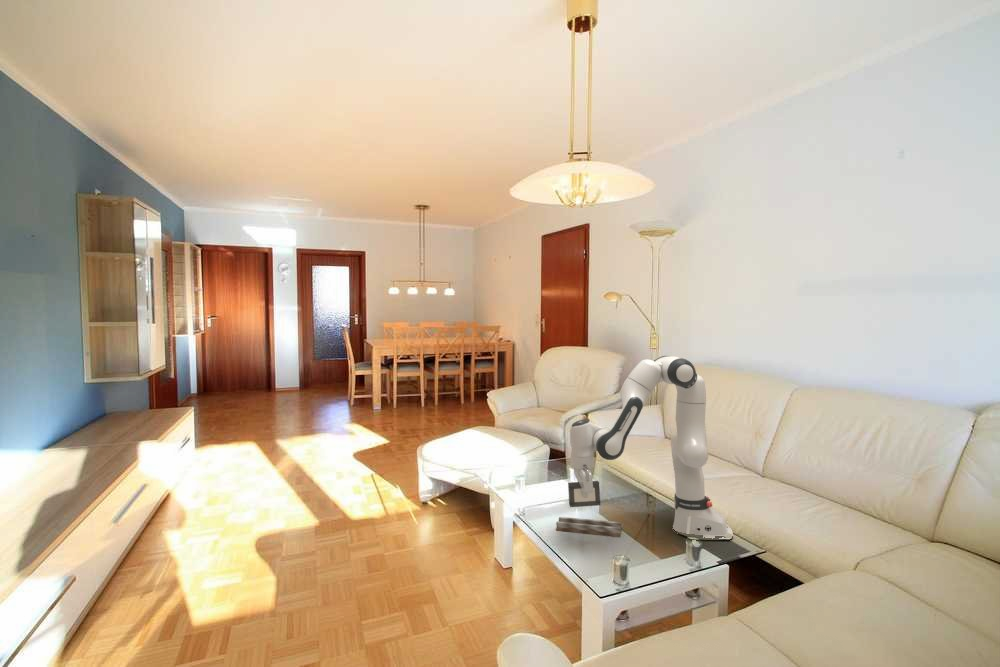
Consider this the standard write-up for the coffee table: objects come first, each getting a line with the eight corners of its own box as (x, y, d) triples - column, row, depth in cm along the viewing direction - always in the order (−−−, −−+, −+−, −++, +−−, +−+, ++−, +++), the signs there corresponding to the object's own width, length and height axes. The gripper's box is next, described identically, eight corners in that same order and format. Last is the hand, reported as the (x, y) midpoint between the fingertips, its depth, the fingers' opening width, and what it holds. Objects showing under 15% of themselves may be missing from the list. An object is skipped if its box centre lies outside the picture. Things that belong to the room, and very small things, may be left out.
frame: (599, 503, 194) (597, 480, 193) (600, 505, 191) (599, 482, 191) (569, 504, 193) (568, 482, 193) (570, 507, 191) (569, 484, 191)
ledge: (621, 528, 201) (621, 521, 201) (620, 537, 193) (619, 529, 193) (560, 522, 209) (559, 515, 209) (556, 530, 202) (555, 523, 202)
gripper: (596, 469, 181) (598, 505, 182) (585, 454, 202) (587, 486, 202) (579, 470, 181) (581, 506, 182) (570, 454, 202) (572, 487, 202)
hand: (584, 496), depth 192 cm, fingers closed on frame, 2 cm apart
